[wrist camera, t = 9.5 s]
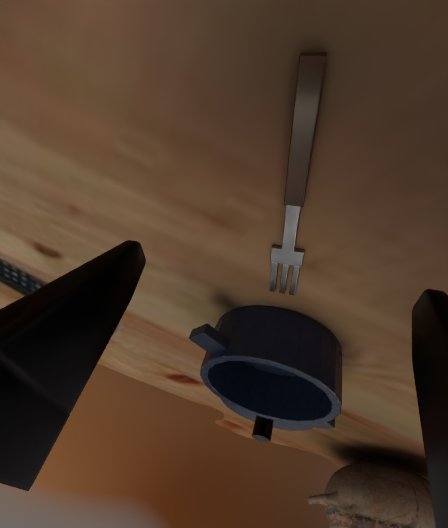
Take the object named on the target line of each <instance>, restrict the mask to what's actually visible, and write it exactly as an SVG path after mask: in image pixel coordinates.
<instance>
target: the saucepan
mask: <svg viewBox="0 0 448 528" xmlns="http://www.w3.org/2000/svg"><path fill="white" fill-rule="evenodd" d="M189 339H190V340H191V341H193V342H194V343H196V344H197V345H199V346H200V347H201V348H203V349H204V350H206V351H207V352H206V354H205V357H204V360H203V363H202V365H201V372H200V376H201V378H202V380H203V382H204V383H205V385H206V386H207V387H208V388H209V389H210V390H211V391H212V392H213V393H214V394H216V395H217V396H218V397H220V398H222V399H223V400H225V401H226V402H228V403H230V404H232V405H234V406H236V407H238V408H240V409H242V410H244V411H246V412H249V413H252V414H255V415H258V416H261V417H264V418H268V419H272V420H276V421H281V422H287V423H295V424H311V425H312V426H313V427H315V428H334V427H335V417H337V416H338V415H339V414H340V412H341V405H342V350H341V346H340V344H339V342H338V340H337V339H336V337H335V336H334V335H333V334H332V333H331V332H330V331H329V330H328V329H327V328H325V327H324V326H323V325H321V324H320V323H318V322H317V321H315V320H313V319H311V318H309V317H307V316H304V315H302V314H300V313H297V312H294V311H291V310H287V309H282V308H277V307H271V306H247V307H241V308H237V309H234V310H231V311H230V312H228V313H226V314H225V315H223V316H222V317H221V319H220V320H219V322H218V324H217V325H216V327H215V329H214V328H213V327H211V326H210V325H209V324H205V325H203V326H200V327H198V328H196V329H193V330H192V332H191V334H190V337H189Z"/></svg>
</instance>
